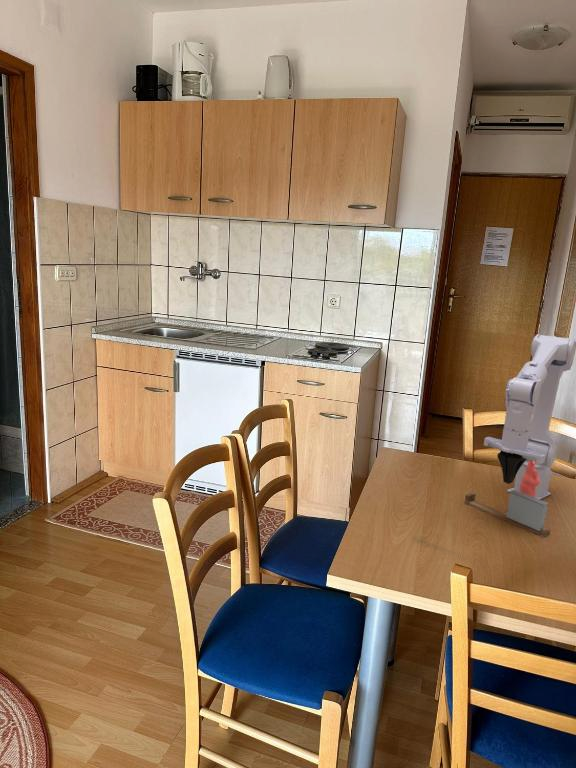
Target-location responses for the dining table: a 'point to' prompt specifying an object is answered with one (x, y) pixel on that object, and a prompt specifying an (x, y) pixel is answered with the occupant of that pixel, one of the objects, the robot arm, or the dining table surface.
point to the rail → (501, 514)
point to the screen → (527, 510)
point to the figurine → (530, 480)
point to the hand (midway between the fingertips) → (508, 482)
